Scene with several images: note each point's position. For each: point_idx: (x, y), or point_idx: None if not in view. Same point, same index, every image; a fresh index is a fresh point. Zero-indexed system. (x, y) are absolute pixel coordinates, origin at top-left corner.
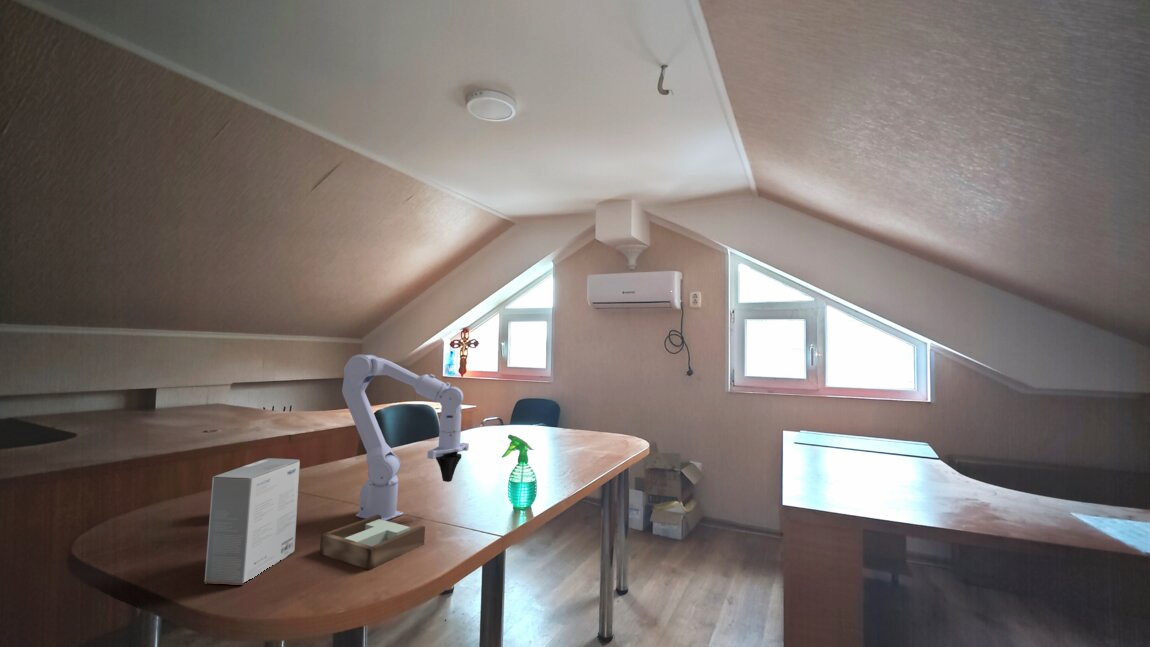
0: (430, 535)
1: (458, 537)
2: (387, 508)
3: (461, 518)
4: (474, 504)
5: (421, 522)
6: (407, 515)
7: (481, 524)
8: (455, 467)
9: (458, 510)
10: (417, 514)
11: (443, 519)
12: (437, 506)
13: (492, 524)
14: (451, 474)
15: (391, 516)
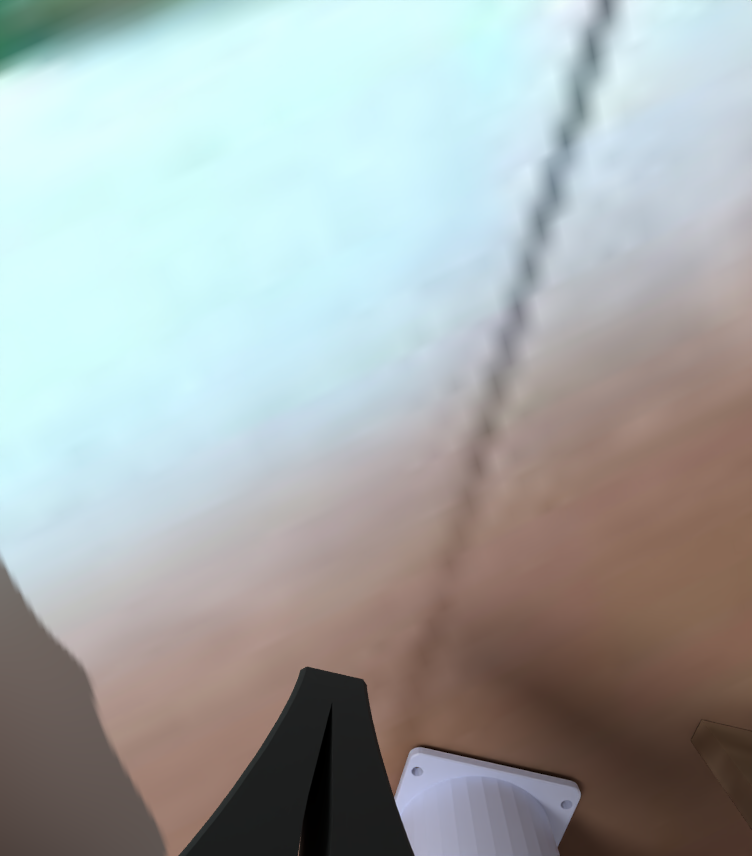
0: (707, 447)
1: (715, 252)
2: (538, 846)
3: (358, 397)
4: (50, 436)
5: (503, 598)
6: (414, 719)
7: (430, 198)
8: (233, 820)
9: (216, 487)
10: (380, 680)
11: (414, 501)
12: (201, 642)
13: (405, 107)
14: (319, 742)
15: (498, 778)
